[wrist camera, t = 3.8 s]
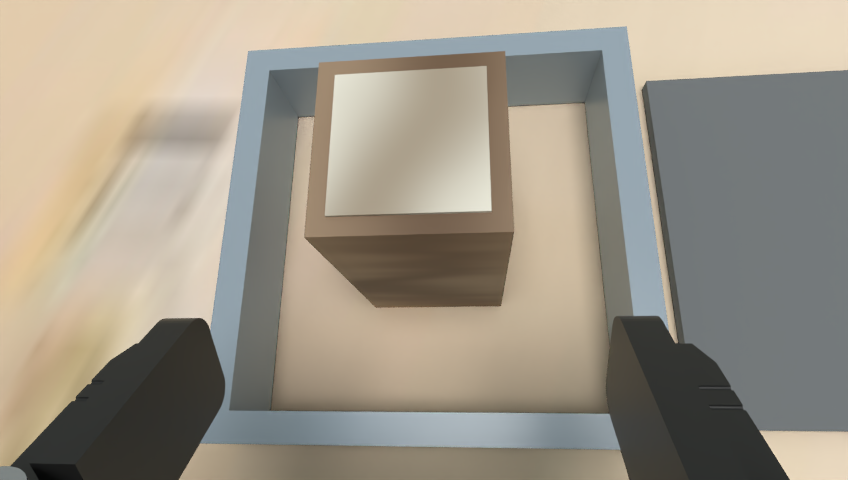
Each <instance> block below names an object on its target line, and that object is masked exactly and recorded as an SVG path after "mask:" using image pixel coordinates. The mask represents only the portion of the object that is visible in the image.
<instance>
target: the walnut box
mask: <svg viewBox="0 0 848 480" xmlns="http://www.w3.org/2000/svg"><path fill="white" fill-rule="evenodd" d="M513 234H514V222H513V202H512V181H511V160H510V140H509V119H508V98H507V78H506V57H505V51H497V52H481V53H465V54H449V55H433V56H416V57H400V58H384V59H368V60H352V61H336V62H319V68H318V80H317V92H316V104H315V116H314V128H313V140H312V152H311V163H310V175H309V187H308V199H307V211H306V223H305V235H304V238H305V239H306V240H308V241H309V242H310V243H311V244H312V245H313V246H314V247H315V248H316V249H317V250H318V251H319V252H320V253H321V254H322V255H323V256H324V257H325V258H326V259H327V260H328V261H329V262H330V263H331V264H332V265H333V266H334V267H335V268H336V269H337V270H338V271H339V272H340V273H341V274H342V275H343V276H344V277H345V278H346V279H347V280H348V281H349V282H350V283H351V284H353V285H354V286H355V287H356V288H357V289H358V290H359V291H360V292H361V293H362V294H363V295H364V296H365V297H366V298H367V299H368V300H369V301H370V302H371V303H372V304H373V305H374V306H375V307H376V308H377V307H461V306H501V302H502V296H503V291H504V285H505V279H506V274H507V268H508V263H509V257H510V251H511V246H512V240H513Z"/></svg>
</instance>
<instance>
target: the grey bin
mask: <svg viewBox="0 0 848 480" xmlns="http://www.w3.org/2000/svg"><path fill="white" fill-rule="evenodd" d="M497 51H505V57H506V78H507V98H508V106H522V105H542V104H562V103H581V102H585V110H586V119H587V129H588V139H589V149H590V158H591V168H592V178H593V188H594V197H595V207H596V217H597V227H598V237H599V246H600V256H601V266H602V276H603V285H604V295H605V305H606V315H607V324H608V334H609V344H610V341H611V332H612V324H613V320H614V318H615V317H616V316H659V317H660V318H661V319H662V320H663V322H664V324H665V326H666V328H667V330H668V331H669V329H668V322H667V315H666V307H665V300H664V293H663V286H662V278H661V271H660V264H659V257H658V250H657V242H656V235H655V228H654V221H653V214H652V206H651V199H650V192H649V185H648V178H647V170H646V163H645V156H644V149H643V141H642V134H641V127H640V120H639V113H638V105H637V98H636V91H635V84H634V77H633V69H632V62H631V55H630V48H629V41H628V33H627V27H612V28H597V29H581V30H566V31H550V32H535V33H520V34H504V35H489V36H473V37H458V38H443V39H427V40H412V41H396V42H381V43H366V44H350V45H335V46H319V47H304V48H289V49H273V50H258V51H248V57H247V64H246V72H245V79H244V86H243V94H242V101H241V109H240V116H239V123H238V131H237V138H236V145H235V153H234V160H233V168H232V175H231V182H230V190H229V197H228V205H227V212H226V219H225V227H224V234H223V241H222V249H221V256H220V264H219V271H218V278H217V286H216V293H215V301H214V308H213V315H212V323H211V330H210V332H211V335H212V339H213V342H214V345H215V348H216V351H217V355H218V358H219V361H220V364H221V367H222V371H223V374H224V378H225V395H224V400H223V403H222V406H221V408H220V410H219V412H218V413H217V415H216V417H215V418H214V420H213V422H212V423H211V425H210V427H209V429H208V430H207V432H206V434H205V435H204V437H203V439H202V440H201V442H200V443H212V444H279V445H345V446H411V447H477V448H544V449H610V450H620V447H619V443H618V440H617V437H616V434H615V430H614V427H613V424H612V421H611V418H610V414H597V413H476V412H356V411H270V409H271V399H272V388H273V378H274V367H275V357H276V346H277V336H278V325H279V315H280V304H281V294H282V283H283V273H284V262H285V252H286V241H287V231H288V220H289V209H290V199H291V188H292V178H293V167H294V157H295V146H296V136H297V125H298V117H307V116H315V104H316V92H317V80H318V68H319V62H336V61H352V60H368V59H384V58H400V57H416V56H433V55H449V54H465V53H481V52H497Z"/></svg>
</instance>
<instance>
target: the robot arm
mask: <svg viewBox="0 0 848 480" xmlns="http://www.w3.org/2000/svg"><path fill="white" fill-rule="evenodd" d="M224 395H225V378H224V374H223V371H222V367H221V364H220V361H219V358H218V355H217V351H216V348H215V345H214V342H213V339H212V335H211V332H210V329H209V326H208V324H207V323H206V321H205V320H203V319H201V318H169V319H162V320H160V321H159V322H158V323H157V324H156V325H155V326H154V327H153V328H152V329H151V330H150V331H149V333H148V334H147V335H146V336H145V337H144V338H143V339H142V340H141V341H140V342H139V344H135V345H133V346H132V347H130V348H129V349H127V350H126V351H124V352H123V353H121V354H120V355H118V356H116V357H115V358H113V359H112V360H110V361H109V362H108V364H107V365H106V366H105V367H104V368H103V369H102V370H101V371H100V372H99V373H98V374H97V375H96V376H95V377H94V378H93V379H92V383H91V384H88V385H87V386H86V387H85V388H84V389H83V390H82V391H81V392H80V393H79V394H78V395H77V396H76V400H75V401H72V402H71V403H70V404H69V405H68V406H67V407H66V408H65V409H64V410H63V411H62V412H61V413H60V414H59V415H58V416H57V417H56V418H55V420H54V421H53V422H52V423H51V424H50V425H49V426H48V427H47V428H46V429H45V430H44V431H43V432H42V433H41V434H40V435H39V436H38V437H37V439H36V440H35V441H34V442H33V443H32V444H31V445H30V446H29V447H28V448H27V449H26V450H25V451H24V452H23V453H22V454H21V455H20V456H19V458H18V459H17V460H16V461H15V462H14V463H13V464H12V465H11V466H2V467H0V480H179V478H180V476H181V475H182V473H183V471H184V469H185V468H186V466H187V464H188V463H189V461H190V459H191V457H192V456H193V454H194V452H195V451H196V449H197V447H198V446H199V444H200V442H201V440H202V439H203V437H204V435H205V434H206V432H207V430H208V429H209V427H210V425H211V423H212V422H213V420H214V418H215V417H216V415H217V413H218V412H219V410H220V408H221V406H222V403H223V400H224ZM606 396H607V404H608V410H609V414H610V418H611V421H612V424H613V427H614V430H615V434H616V437H617V440H618V443H619V447H620V450H621V453H622V456H623V460H624V463H625V466H626V469H627V473H628V476H629V479H630V480H790V479H789V478H788V476H787V475H786V473H785V471H784V470H783V468H782V467H781V465H780V463H779V462H778V460H777V459H776V457H775V455H774V454H773V452H772V451H771V449H770V447H769V446H768V444H767V443H766V441H765V440H764V438H763V436H762V435H761V433H760V432H759V430H758V428H757V427H756V425H755V424H754V422H753V420H752V419H751V417H750V416H749V414H748V412H747V411H746V410H743V404H742V403H741V401H740V400H739V398H738V396H737V395H736V393H735V392H734V390H731V385H730V384H729V382H728V380H727V379H726V377H725V376H724V374H723V372H722V371H721V369H720V368H719V366H718V364H717V363H716V362H715V361H714V360H712V359H711V358H710V357H709V356H707V355H706V354H705V353H703V352H702V351H701V350H700V349H698V348H697V347H696V346H695V345H693V344H692V343H675V342H674V341H673V339H672V337H671V335H670V333H669V331H668V330H667V328H666V326H665V324H664V322H663V320H662V319H661V318H660V317H659V316H616V317H615V318H614V320H613V324H612V332H611V341H610V350H609V359H608V368H607V377H606Z"/></svg>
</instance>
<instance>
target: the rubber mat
mask: <svg viewBox="0 0 848 480" xmlns="http://www.w3.org/2000/svg"><path fill="white" fill-rule="evenodd" d="M642 91H643V98H644V105H645V112H646V119H647V126H648V133H649V140H650V147H651V154H652V161H653V168H654V175H655V182H656V189H657V196H658V203H659V210H660V217H661V223H662V230H663V237H664V244H665V251H666V258H667V265H668V272H669V279H670V286H671V293H672V300H673V307H674V314H675V321H676V328H677V335H678V342H679V343H692V344H693V345H695V346H696V347H697V348H698V349H700V350H701V351H702V352H703V353H705V354H706V355H707V356H709V357H710V358H711V359H712V360H714V361H715V362H716V363H717V364H718V366H719V368H720V369H721V371H722V372H723V374H724V376H725V377H726V379H727V380H728V382H729V384H730V385H731V390H734V392H735V393H736V395H737V396H738V398H739V400H740V401H741V403H742V404H743V410H746V411H747V412H748V414H749V416H750V417H751V419H752V420H753V422H754V424H755V425H756V427H757V428H758V430H770V431H848V70H844V71H825V72H807V73H789V74H770V75H752V76H733V77H715V78H697V79H678V80H660V81H646V83H645V85H644V87H643V89H642Z"/></svg>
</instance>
